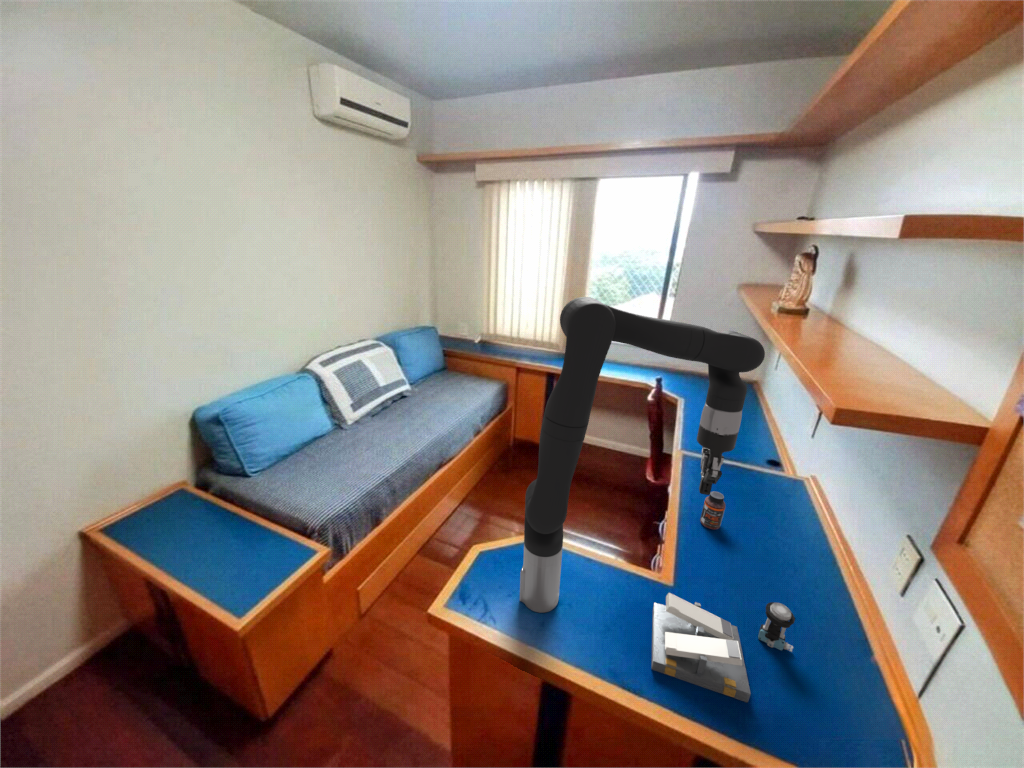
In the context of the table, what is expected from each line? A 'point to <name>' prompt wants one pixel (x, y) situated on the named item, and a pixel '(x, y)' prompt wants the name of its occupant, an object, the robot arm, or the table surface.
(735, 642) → the rocker front
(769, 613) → the push button
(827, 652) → the table surface
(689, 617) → the rocker back
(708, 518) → the supplement bottle
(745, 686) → the switch unit
